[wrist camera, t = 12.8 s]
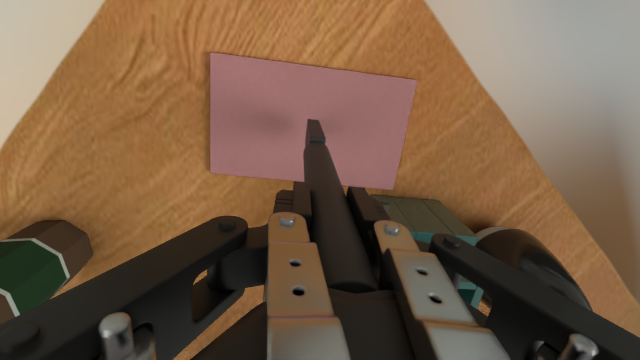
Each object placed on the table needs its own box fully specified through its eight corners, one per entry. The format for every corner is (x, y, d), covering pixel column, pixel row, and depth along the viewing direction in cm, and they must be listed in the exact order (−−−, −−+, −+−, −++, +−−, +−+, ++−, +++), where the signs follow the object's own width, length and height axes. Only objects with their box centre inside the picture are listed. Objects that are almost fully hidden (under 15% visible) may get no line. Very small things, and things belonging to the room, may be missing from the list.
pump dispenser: (481, 290, 44) (569, 396, 29) (433, 254, 41) (505, 352, 27) (536, 242, 41) (660, 332, 27) (489, 201, 39) (600, 276, 24)
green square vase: (359, 255, 40) (387, 344, 27) (370, 194, 37) (410, 260, 24) (422, 259, 41) (480, 347, 28) (439, 200, 38) (512, 267, 25)
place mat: (211, 171, 35) (209, 173, 34) (211, 52, 30) (209, 52, 30) (391, 188, 37) (393, 190, 36) (415, 80, 33) (417, 80, 32)
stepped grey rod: (301, 142, 32) (304, 348, 8) (303, 118, 31) (315, 268, 7) (319, 144, 32) (375, 350, 8) (322, 120, 31) (394, 273, 7)
